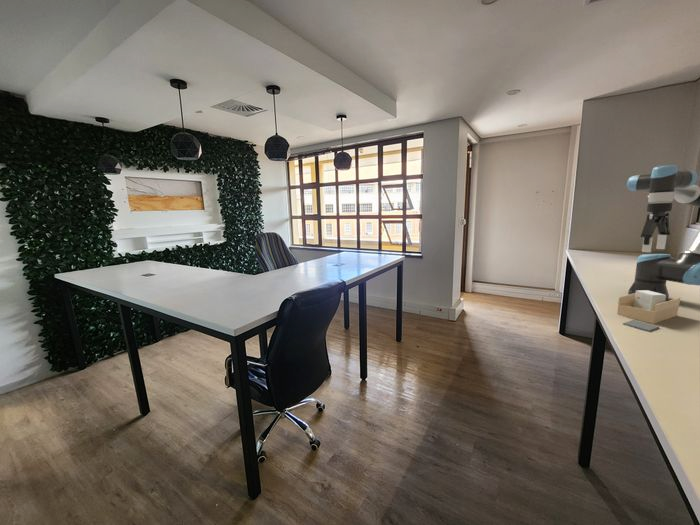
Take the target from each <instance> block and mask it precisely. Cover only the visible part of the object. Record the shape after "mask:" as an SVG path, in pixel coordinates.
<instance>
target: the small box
mask: <svg viewBox="0 0 700 525" xmlns="http://www.w3.org/2000/svg"><path fill="white" fill-rule="evenodd" d="M665 300H666V295H664V294H660V293H657V292H653V291H649V290H637V291H636V293H635V300H634V307H635V308H639V309H644V310H649V311H653V312H655V306H656V304H659V303H663V302H666V301H665Z"/></svg>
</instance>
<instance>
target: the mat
mask: <svg viewBox="0 0 700 525" xmlns="http://www.w3.org/2000/svg"><path fill="white" fill-rule="evenodd" d="M622 325H624V326H626V325H627V326H626V327H630V328H633V327H634V329H638V330H641V331H644V332H648V333H649V332H652V331H655V330H657V329H659V328H660V326H659V325H656V324H651V323H647V322H643V321H640V320H636V319H632V320H629V321H626V322H623V323H622Z"/></svg>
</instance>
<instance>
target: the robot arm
mask: <svg viewBox="0 0 700 525" xmlns="http://www.w3.org/2000/svg"><path fill="white" fill-rule="evenodd" d="M698 179H699V177H698V174H697V172H696V171H694V170H689V169H684V170H682V169H681V170H679V167H678V166H677V165H676V164H669V165H661V166H660V165H659V166H655V167H653V168H652V171H651V173H645V174H637V175H632V176H630V177H629V178H628V180H627V183H626V188H627V190H629V191H631V192H639V191H641V192H647V193H648V195H647V198H648V199H647V200H648V201H647V203H648V204H647V207H646V212H647V213H649V214H647V215H646V216H647V217H646V220H645V223H644V226H643V229H642V231H641V233H640V234H641V235H640V238H643V239H642V247H641V252H642V253H645V254H640V255H638V257H637V260H636V266H635V274H634V282H632V285H631V286H630V287H629V289H628V292H627V295H630V294H634V293H636V291H637V290H649V291H653V292H657V293H660V294H664V295H666V300H665V302H666V301H669V300H670V293H669V291H668V288H667V287H668V286H667V281H668V282H672V283H673V282H674V283H679V284H685V285H689V286H690V285H691V286H698V287H699V286H700V228H699V230H698V231H697V232H696V235H694V237H693V239H692V241H690V242H691V243H690V244H689V246H688V247H687V249H686V250H685V251H682V252H680V253H679V254H678V255H677V257H672V256H671V254H670V253H652V244H653V239H654V237H653V235H654V233H655V231H656V229H657V231H658V234H657V241H656V247H655V249H657V250H665V249H666V243H667V236H669V235H670V234H671V230H670V218H669V216H670V213H669V212H671V211H672V209H673V202H674V200H675V201H676V202H677V203H680V204H684V205H688V206H691V207H692V206H693V207H697V208H700V185H699V184H696V182H697V181H698ZM650 213H651V214H650Z"/></svg>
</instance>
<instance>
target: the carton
mask: <svg viewBox="0 0 700 525" xmlns="http://www.w3.org/2000/svg"><path fill="white" fill-rule="evenodd" d="M634 300H635V293H634V294H630V295H628V294H627V295H626V294H625V295H623V296H619V297H618V302H617V303H618V305H617V312H616V314H617V315H618V316H621V315H622V316H623V317H625V316H626V318H629V317H630V318H629V319H632V318H633V319H632V320H636V319H637V320H636V321H639V322H643V321H644V322H643V323H647V324H651V325H655V324H657V323H660V322H664V321H666V320H669V319H672V318H675V317H678V312H679V307H680V306H679V305H680V303H681V297H679V296H678V297H676V298H674V299H669V300H667V301H665V302H663V303H659V304H656V306H655V312H653V311H649V310H644V309H639V308H635V307H634ZM622 316H621V317H622Z"/></svg>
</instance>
